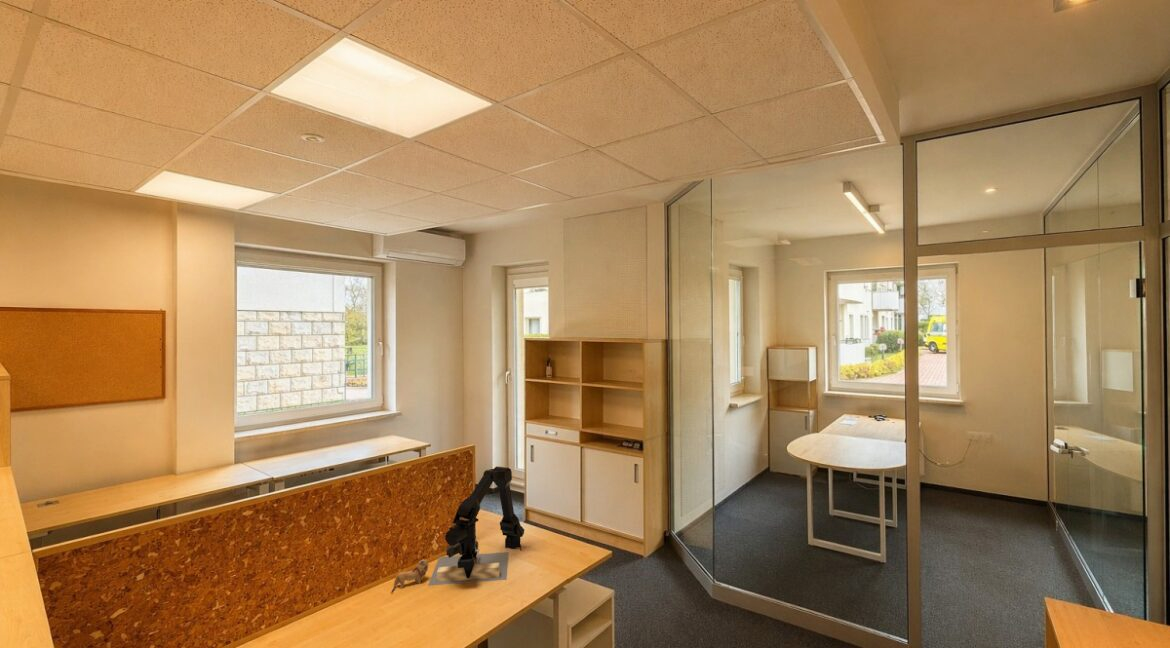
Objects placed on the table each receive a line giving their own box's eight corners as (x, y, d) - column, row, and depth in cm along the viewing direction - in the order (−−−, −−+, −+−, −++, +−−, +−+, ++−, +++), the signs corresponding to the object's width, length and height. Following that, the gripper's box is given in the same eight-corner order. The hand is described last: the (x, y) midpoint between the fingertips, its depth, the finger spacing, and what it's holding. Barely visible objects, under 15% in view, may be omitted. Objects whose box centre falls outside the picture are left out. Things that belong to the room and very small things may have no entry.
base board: (508, 554, 221) (508, 552, 221) (506, 582, 196) (506, 579, 196) (439, 559, 217) (439, 556, 217) (428, 588, 193) (428, 585, 193)
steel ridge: (479, 558, 216) (478, 545, 216) (477, 566, 208) (477, 554, 208) (467, 558, 215) (467, 546, 215) (465, 567, 207) (464, 554, 207)
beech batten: (499, 572, 202) (499, 562, 202) (499, 577, 198) (498, 567, 198) (438, 577, 199) (438, 567, 199) (437, 582, 195) (436, 571, 195)
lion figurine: (425, 578, 201) (425, 556, 201) (431, 583, 197) (430, 560, 197) (388, 591, 191) (388, 568, 191) (393, 597, 187) (393, 572, 187)
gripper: (450, 528, 207) (451, 565, 207) (443, 547, 188) (444, 588, 188) (478, 526, 208) (478, 563, 208) (473, 545, 190) (474, 586, 190)
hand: (468, 575), depth 198 cm, fingers closed on beech batten, 4 cm apart
